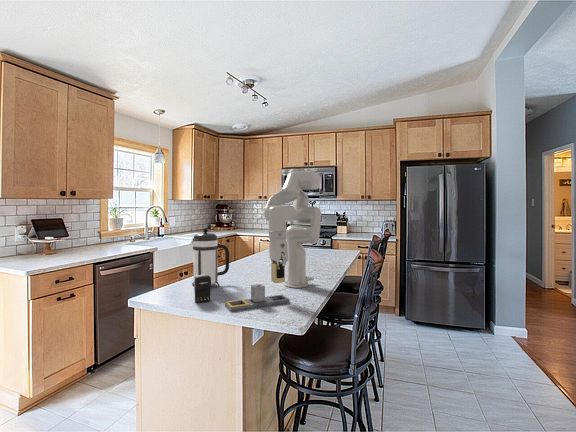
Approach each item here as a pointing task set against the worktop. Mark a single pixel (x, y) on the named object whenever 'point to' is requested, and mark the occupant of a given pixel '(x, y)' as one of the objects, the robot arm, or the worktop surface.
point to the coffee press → (208, 256)
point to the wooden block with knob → (274, 274)
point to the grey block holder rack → (249, 305)
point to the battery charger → (202, 288)
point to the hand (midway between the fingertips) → (278, 276)
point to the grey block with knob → (257, 293)
